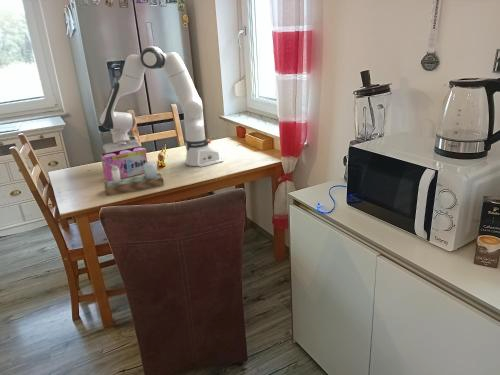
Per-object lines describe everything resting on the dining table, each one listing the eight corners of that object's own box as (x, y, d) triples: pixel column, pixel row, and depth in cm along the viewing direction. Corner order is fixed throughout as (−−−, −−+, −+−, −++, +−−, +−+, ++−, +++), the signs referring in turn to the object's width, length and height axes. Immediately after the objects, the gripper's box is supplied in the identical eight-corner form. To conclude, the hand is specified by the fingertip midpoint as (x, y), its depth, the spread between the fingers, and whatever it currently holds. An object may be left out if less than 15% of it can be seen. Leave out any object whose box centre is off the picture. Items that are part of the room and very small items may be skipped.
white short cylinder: (156, 173, 207) (155, 161, 205) (159, 177, 202) (157, 164, 199) (144, 175, 205) (142, 162, 202) (146, 179, 199) (144, 166, 197)
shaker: (120, 180, 199) (117, 164, 196) (121, 183, 196) (118, 166, 193) (113, 181, 198) (110, 165, 195) (113, 184, 195) (111, 167, 192)
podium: (160, 180, 210) (159, 172, 209) (164, 185, 203) (163, 177, 202) (105, 189, 200) (103, 182, 198) (106, 195, 193) (105, 187, 192)
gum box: (146, 168, 229) (142, 145, 224) (151, 171, 223) (148, 148, 218) (104, 177, 217) (99, 153, 211) (108, 181, 211) (104, 157, 205)
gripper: (101, 141, 220) (106, 163, 216) (139, 136, 228) (144, 157, 223) (102, 147, 226) (107, 168, 221) (139, 142, 233) (144, 162, 229)
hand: (126, 162), depth 222 cm, fingers closed
